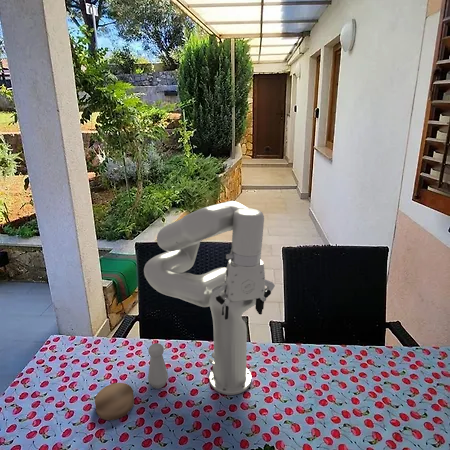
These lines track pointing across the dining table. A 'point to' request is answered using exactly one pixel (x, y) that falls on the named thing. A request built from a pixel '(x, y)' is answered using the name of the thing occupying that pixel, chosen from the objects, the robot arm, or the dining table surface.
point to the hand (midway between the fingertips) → (242, 314)
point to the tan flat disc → (114, 401)
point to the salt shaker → (157, 366)
